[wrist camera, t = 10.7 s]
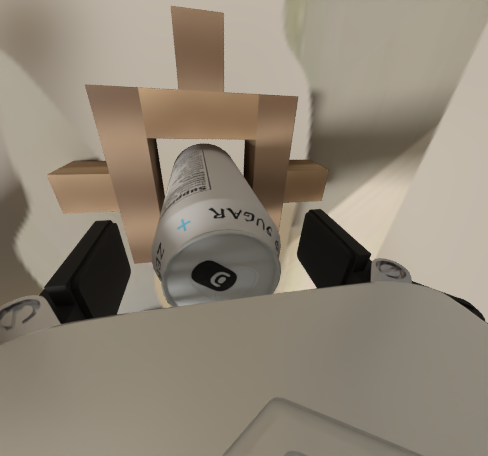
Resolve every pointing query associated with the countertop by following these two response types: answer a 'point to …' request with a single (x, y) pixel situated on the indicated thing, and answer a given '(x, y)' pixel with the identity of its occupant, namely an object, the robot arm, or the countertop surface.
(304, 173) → the cross socket stand
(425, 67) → the countertop surface
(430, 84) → the countertop surface
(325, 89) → the countertop surface
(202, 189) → the energy drink can
